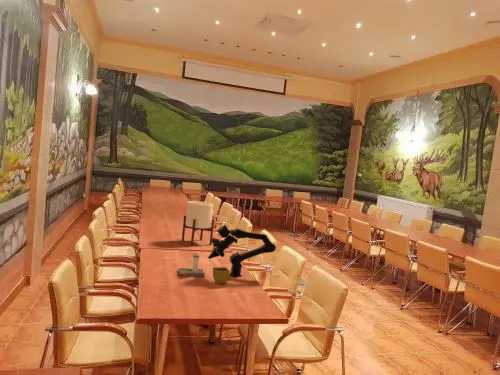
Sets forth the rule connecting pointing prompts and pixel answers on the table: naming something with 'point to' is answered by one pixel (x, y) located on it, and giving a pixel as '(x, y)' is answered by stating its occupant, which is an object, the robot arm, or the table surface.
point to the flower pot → (221, 275)
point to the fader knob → (195, 262)
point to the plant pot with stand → (198, 219)
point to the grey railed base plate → (190, 272)
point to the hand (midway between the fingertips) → (208, 258)
